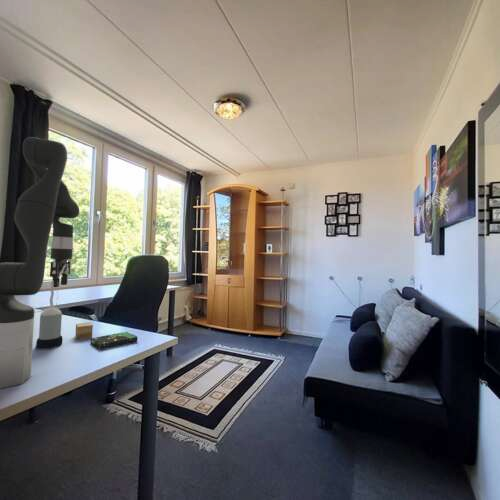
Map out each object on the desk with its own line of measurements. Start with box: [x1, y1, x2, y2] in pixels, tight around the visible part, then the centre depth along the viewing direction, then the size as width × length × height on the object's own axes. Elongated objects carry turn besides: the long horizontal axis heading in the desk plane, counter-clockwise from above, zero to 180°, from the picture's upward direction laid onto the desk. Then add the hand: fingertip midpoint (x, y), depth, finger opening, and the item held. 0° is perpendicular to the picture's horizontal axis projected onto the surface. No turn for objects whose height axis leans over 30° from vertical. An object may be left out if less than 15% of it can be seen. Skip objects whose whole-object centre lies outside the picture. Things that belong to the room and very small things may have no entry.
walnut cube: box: [74, 321, 94, 341], centre depth 114 cm, size 6×6×6 cm
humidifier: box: [35, 280, 64, 350], centre depth 103 cm, size 8×8×25 cm
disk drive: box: [90, 331, 138, 351], centre depth 109 cm, size 10×3×15 cm
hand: (59, 285), depth 112 cm, fingers open, 8 cm apart
